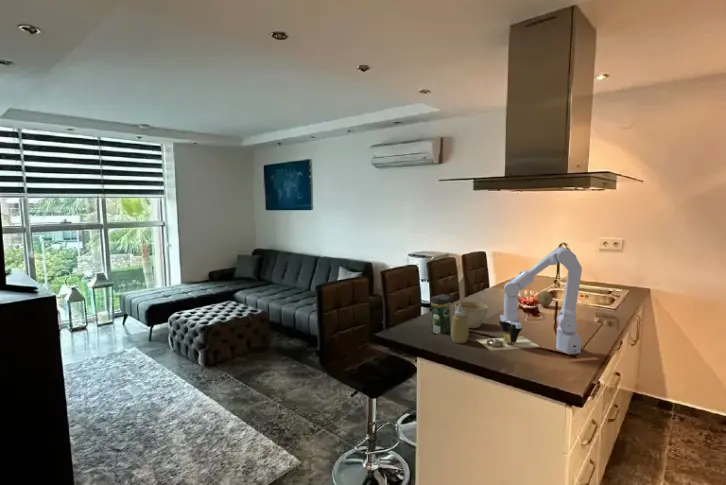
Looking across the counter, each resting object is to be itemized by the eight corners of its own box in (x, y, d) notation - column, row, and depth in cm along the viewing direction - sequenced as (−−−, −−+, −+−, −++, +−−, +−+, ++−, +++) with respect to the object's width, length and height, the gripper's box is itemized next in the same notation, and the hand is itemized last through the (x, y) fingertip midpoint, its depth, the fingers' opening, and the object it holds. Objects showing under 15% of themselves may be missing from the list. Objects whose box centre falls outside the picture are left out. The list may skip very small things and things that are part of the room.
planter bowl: (473, 332, 196) (473, 311, 195) (448, 324, 209) (448, 304, 208) (493, 326, 206) (494, 305, 205) (468, 319, 219) (468, 299, 218)
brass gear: (519, 342, 175) (519, 334, 175) (507, 343, 174) (507, 335, 174) (512, 338, 181) (512, 330, 180) (500, 338, 180) (501, 331, 179)
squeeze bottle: (455, 338, 188) (455, 300, 186) (471, 342, 183) (472, 303, 181) (447, 343, 182) (447, 304, 180) (463, 347, 177) (464, 307, 175)
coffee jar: (439, 328, 204) (440, 292, 202) (453, 331, 198) (453, 294, 196) (427, 332, 197) (428, 295, 195) (441, 336, 191) (441, 298, 190)
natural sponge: (548, 309, 237) (548, 293, 236) (533, 307, 243) (533, 290, 242) (555, 307, 243) (555, 290, 242) (540, 304, 249) (540, 288, 248)
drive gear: (506, 347, 174) (506, 341, 174) (491, 348, 173) (491, 342, 172) (498, 341, 181) (498, 336, 180) (483, 342, 179) (484, 337, 179)
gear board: (540, 349, 174) (540, 341, 173) (490, 352, 170) (491, 344, 170) (522, 338, 188) (522, 331, 187) (476, 341, 184) (476, 334, 183)
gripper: (494, 305, 183) (493, 334, 184) (511, 314, 168) (510, 345, 170) (508, 305, 184) (507, 333, 185) (526, 313, 170) (525, 344, 171)
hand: (509, 339), depth 178 cm, fingers closed on brass gear, 5 cm apart
